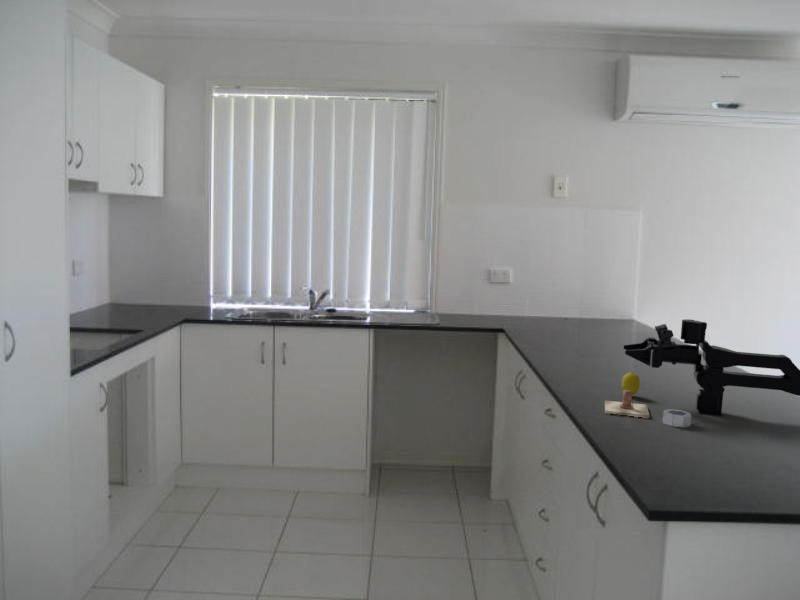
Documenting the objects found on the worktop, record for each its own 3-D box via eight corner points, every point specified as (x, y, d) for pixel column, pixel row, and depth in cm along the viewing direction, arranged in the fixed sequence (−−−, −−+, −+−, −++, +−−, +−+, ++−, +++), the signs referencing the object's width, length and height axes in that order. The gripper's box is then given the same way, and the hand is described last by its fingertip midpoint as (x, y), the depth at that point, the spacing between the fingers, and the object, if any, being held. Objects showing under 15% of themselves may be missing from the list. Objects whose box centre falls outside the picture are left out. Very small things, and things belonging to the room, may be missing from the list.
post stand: (646, 407, 216) (647, 388, 215) (649, 418, 204) (651, 398, 203) (604, 403, 218) (606, 384, 218) (605, 413, 207) (606, 393, 206)
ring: (688, 421, 203) (689, 411, 202) (691, 428, 196) (692, 417, 196) (661, 418, 205) (662, 408, 204) (664, 425, 198) (665, 414, 197)
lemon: (627, 398, 226) (629, 373, 225) (617, 394, 231) (619, 369, 230) (642, 398, 227) (644, 373, 226) (632, 393, 232) (634, 369, 231)
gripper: (677, 322, 222) (624, 319, 226) (685, 331, 204) (628, 327, 208) (674, 358, 224) (622, 354, 227) (682, 370, 206) (625, 365, 209)
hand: (624, 349), depth 218 cm, fingers open, 9 cm apart
